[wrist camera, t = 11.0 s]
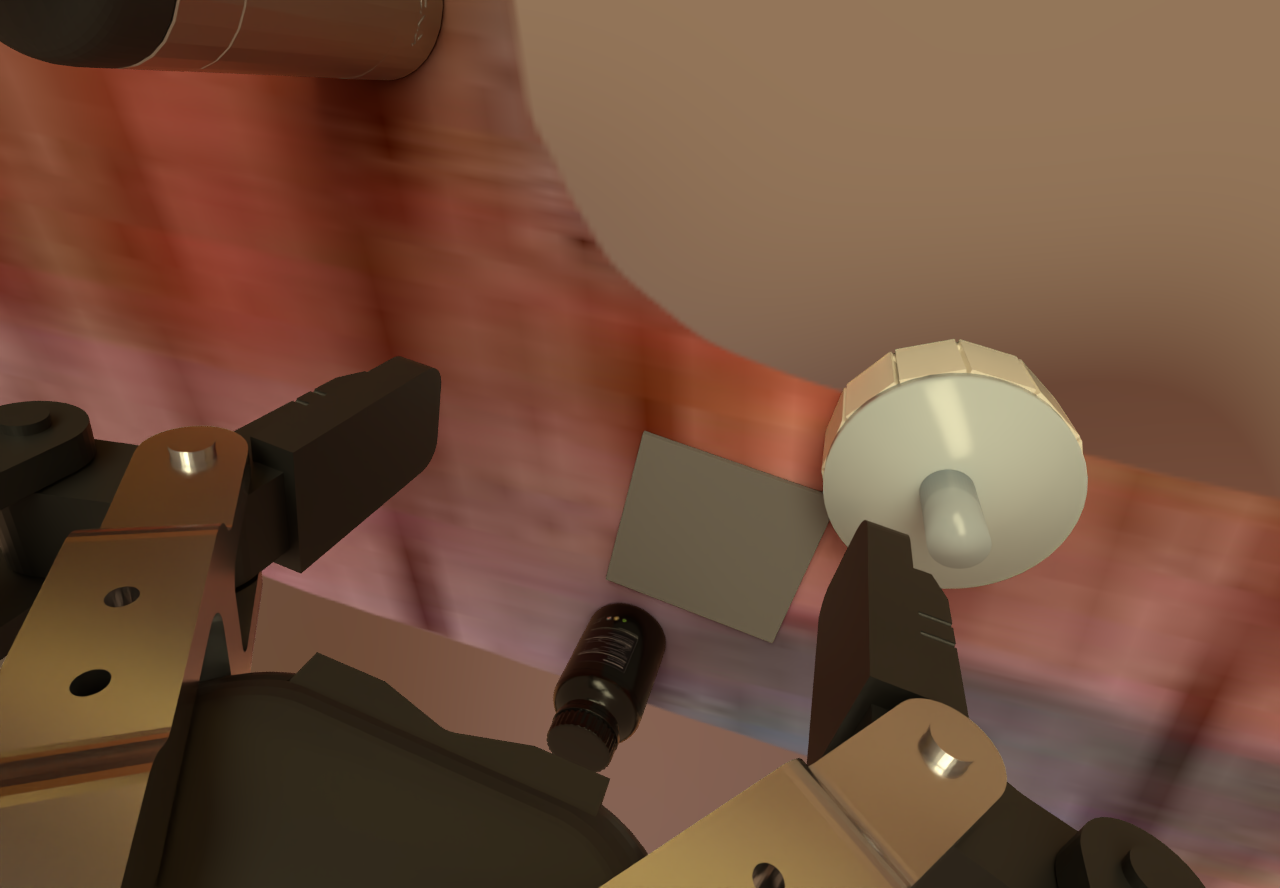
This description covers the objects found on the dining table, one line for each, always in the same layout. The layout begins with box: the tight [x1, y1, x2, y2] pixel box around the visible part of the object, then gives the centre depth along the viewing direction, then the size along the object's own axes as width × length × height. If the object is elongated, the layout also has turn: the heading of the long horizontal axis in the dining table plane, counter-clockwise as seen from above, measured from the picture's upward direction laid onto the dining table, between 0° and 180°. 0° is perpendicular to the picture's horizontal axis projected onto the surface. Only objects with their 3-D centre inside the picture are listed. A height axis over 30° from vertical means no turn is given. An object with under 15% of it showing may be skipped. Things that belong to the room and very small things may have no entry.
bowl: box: [821, 339, 1083, 477], centre depth 39 cm, size 13×13×5 cm
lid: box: [823, 373, 1088, 588], centre depth 34 cm, size 13×13×6 cm
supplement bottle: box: [547, 603, 666, 772], centre depth 50 cm, size 7×7×12 cm
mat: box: [606, 431, 830, 643], centre depth 49 cm, size 14×14×1 cm
